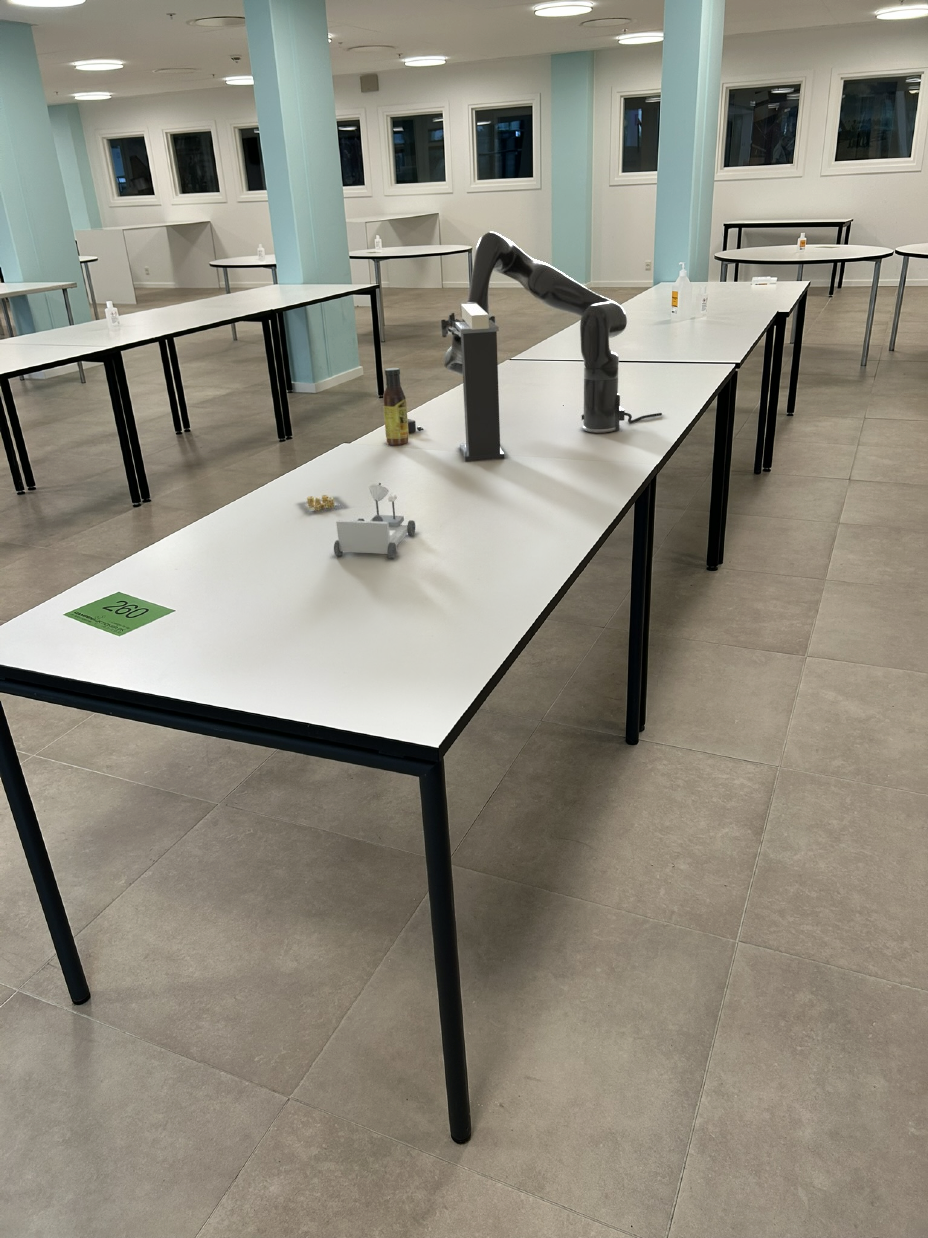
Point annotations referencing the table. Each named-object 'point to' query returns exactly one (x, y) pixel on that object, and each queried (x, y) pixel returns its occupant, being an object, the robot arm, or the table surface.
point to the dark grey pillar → (480, 392)
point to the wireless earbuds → (413, 426)
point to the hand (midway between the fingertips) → (469, 314)
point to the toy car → (373, 530)
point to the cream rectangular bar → (474, 315)
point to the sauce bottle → (395, 409)
